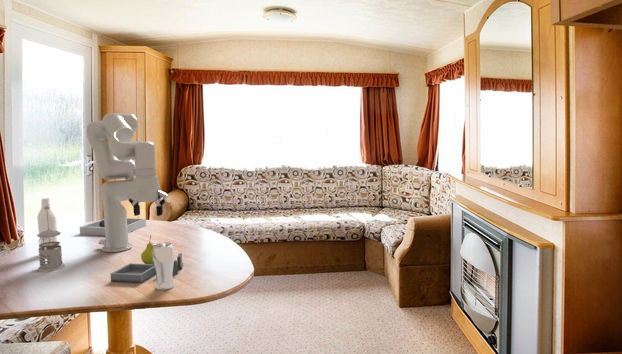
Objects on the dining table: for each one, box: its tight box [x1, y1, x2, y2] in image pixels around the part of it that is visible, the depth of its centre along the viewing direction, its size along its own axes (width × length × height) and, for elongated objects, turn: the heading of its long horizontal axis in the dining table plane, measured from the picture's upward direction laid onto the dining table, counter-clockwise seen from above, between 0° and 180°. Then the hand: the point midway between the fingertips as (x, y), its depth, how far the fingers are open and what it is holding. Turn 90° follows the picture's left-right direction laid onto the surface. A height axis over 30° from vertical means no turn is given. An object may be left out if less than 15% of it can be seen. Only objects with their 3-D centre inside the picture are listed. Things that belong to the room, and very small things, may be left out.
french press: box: [36, 206, 66, 272], centre depth 167 cm, size 10×12×25 cm
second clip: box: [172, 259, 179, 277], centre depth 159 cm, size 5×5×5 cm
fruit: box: [140, 234, 154, 264], centre depth 170 cm, size 7×7×12 cm
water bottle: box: [36, 198, 58, 250], centre depth 185 cm, size 7×7×25 cm
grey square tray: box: [110, 263, 156, 284], centre depth 156 cm, size 12×12×3 cm
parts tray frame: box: [79, 217, 147, 236], centre depth 233 cm, size 24×24×4 cm
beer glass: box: [153, 242, 175, 291], centre depth 145 cm, size 7×7×15 cm
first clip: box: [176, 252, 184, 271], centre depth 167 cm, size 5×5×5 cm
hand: (148, 215), depth 168 cm, fingers open, 9 cm apart
